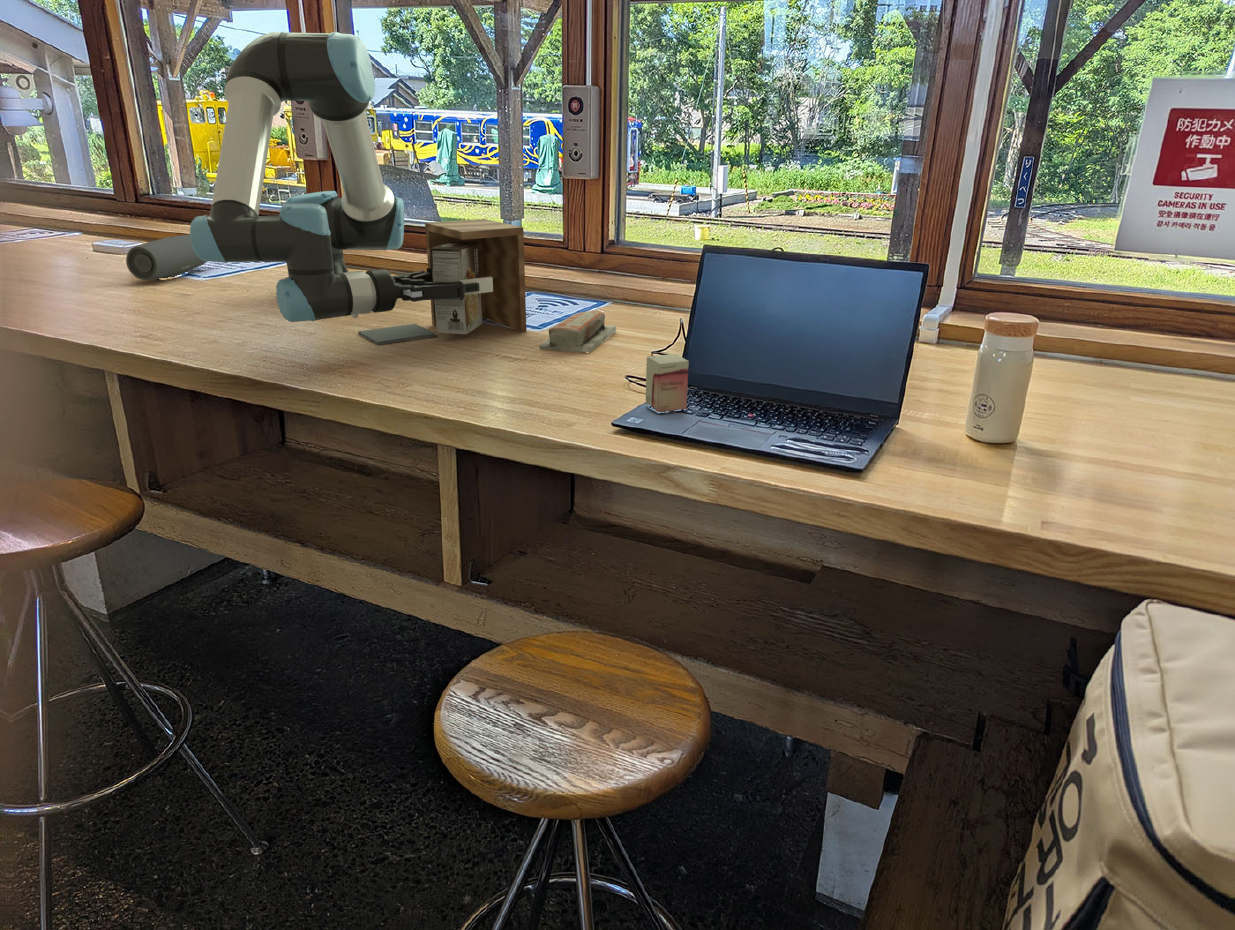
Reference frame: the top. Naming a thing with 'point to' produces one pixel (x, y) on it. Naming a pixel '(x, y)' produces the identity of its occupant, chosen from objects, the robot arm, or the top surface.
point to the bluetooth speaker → (163, 258)
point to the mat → (396, 334)
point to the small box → (667, 382)
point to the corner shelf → (490, 265)
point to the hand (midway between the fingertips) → (478, 279)
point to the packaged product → (579, 333)
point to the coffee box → (452, 267)
